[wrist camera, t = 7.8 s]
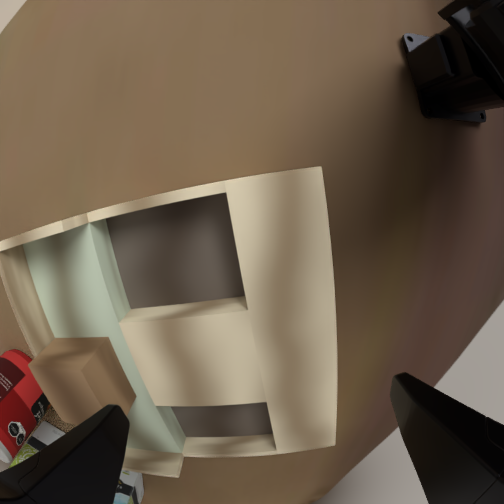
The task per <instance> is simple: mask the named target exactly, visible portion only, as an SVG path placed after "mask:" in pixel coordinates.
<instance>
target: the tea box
mask: <svg viewBox="0 0 504 504" xmlns="http://www.w3.org/2000/svg"><path fill="white" fill-rule="evenodd" d="M64 434H66V433H65V432H63V431H61V430H59V429H58V428H56V427H54V426H53V425H51V424H50V423H48V422H46V421H43V422H42V423H41V424H40V426H39V427H38V428H37V429H36V430H35V432H34V433H33V434H32V436H31V437H30V438H29V439H28V441H27V442H26V444H25V445H24V446H23V448H22V449H21V451H20V452H19V454H18V455H17V457H16V458H15V459H14V461H13V462H12V464H11V465H10V466H9V468H10V467H12V466H14V465H16V464H18V463H20V462H22V461H24V460H26V459H27V458H29V457H31V456H32V455H34V454H35V453H37V452H38V451H41V449H43V448H45V447H46V446H48V445H49V444H51V443H52V442H54V441H55V440H57V439H58V438H60V437H61V436H63V435H64ZM143 494H144V488H143V479H142V473H138V472H132V471H127V470H122V471H121V474H120V478H119V482H118V486H117V490H116V494H115V498H114V503H113V504H140V503H141V500H142V497H143Z"/></svg>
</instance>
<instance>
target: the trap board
mask: <svg viewBox="0 0 504 504" xmlns="http://www.w3.org/2000/svg"><path fill="white" fill-rule="evenodd" d="M0 274H1V278H2V281H3V284H4V287H5V290H6V293H7V296H8V298H9V301H10V304H11V306H12V309H13V312H14V314H15V317H16V319H17V322H18V324H19V326H20V329H21V331H22V333H23V335H24V338H25V340H26V342H27V344H28V346H29V348H30V350H31V352H32V354H33V356H34V358H35V357H36V356H37V355H38V354H39V353H40V352H41V351H42V350H43V349H45V348H46V347H47V346H48V345H49V344H50V343H51V342H52V341H53V340H54V339H55V338H82V337H109V339H110V341H111V344H112V346H113V348H114V351H115V353H116V355H117V357H118V360H119V362H120V364H121V366H122V368H123V370H124V372H125V374H126V376H127V378H128V380H129V382H130V384H131V386H132V388H133V390H134V392H135V394H136V396H137V397H136V399H135V401H134V403H133V405H132V407H131V409H130V411H129V413H128V415H127V418H128V419H129V422H130V428H129V434H128V440H127V446H126V452H125V458H124V463H123V467H122V470H127V471H132V472H138V473H144V474H151V475H158V476H166V477H176V478H179V476H180V472H181V468H182V463H183V459H184V457H247V456H262V455H274V454H283V453H291V452H299V451H305V450H312V449H318V448H323V447H329V446H334V445H335V438H336V416H337V331H336V307H335V289H334V275H333V262H332V250H331V240H330V230H329V221H328V212H327V204H326V196H325V189H324V181H323V174H322V168H321V166H320V167H311V168H303V169H295V170H288V171H281V172H274V173H267V174H261V175H255V176H249V177H243V178H237V179H231V180H226V181H220V182H215V183H210V184H204V185H199V186H194V187H190V188H185V189H180V190H175V191H171V192H166V193H162V194H158V195H153V196H149V197H145V198H141V199H137V200H133V201H129V202H125V203H121V204H117V205H113V206H110V207H106V208H102V209H99V210H95V211H92V212H88V213H85V214H81V215H78V216H74V217H71V218H68V219H65V220H61V221H58V222H55V223H52V224H49V225H46V226H43V227H40V228H37V229H34V230H31V231H28V232H25V233H22V234H19V235H17V236H14V237H11V238H9V239H6V240H3V241H1V242H0ZM76 426H77V425H76Z"/></svg>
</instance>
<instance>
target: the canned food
mask: <svg viewBox="0 0 504 504" xmlns="http://www.w3.org/2000/svg"><path fill="white" fill-rule="evenodd" d="M31 361H32V359H31V358H30V357H29V356H27V355H26V354H25V353H23V352H21V351H19V350H16V349H12V350H9V351H6V352H5V353H4V354H2V355H1V356H0V459H1V460H2V461H4V462H6V463H10V462H11V461H12V459H13V458H14V457H15V455H16V454H17V453H18V451H19V450H20V448H21V447H22V445H23V444H24V442H25V441H26V440H27V438H28V437H29V435H30V434H31V432H32V431H33V430H34V428H35V427H36V425H37V424H38V423H39V421H40V420H41V418H42V417H43V416H44V414H45V413H46V412H47V410H48V409H49V408H50V406H51V403H50V402H49V400H48V399H47V397H46V395H45V394H44V392H43V391H42V389H41V387H40V386H39V384H38V382H37V381H36V379H35V377H34V375H33V374H32V372H31V370H30V368H29V366H28V364H29V363H30V362H31Z"/></svg>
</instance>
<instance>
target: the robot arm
mask: <svg viewBox="0 0 504 504" xmlns="http://www.w3.org/2000/svg"><path fill="white" fill-rule="evenodd" d="M438 14H439V15H440V16H441V17H442V18H443V19H444V20H446V21H447V22H448V23H449V24H450V26H449V27H447V28H446V29H444V30H443V31H441V32H440V33H438V34H434V35H433V36H431V37H427V36H421V35H416V34H410V33H406V34H404V35H403V36H402V41H403V44H404V47H405V50H406V53H407V59H408V62H409V66H410V69H411V73H412V76H413V80H414V84H415V87H416V89H417V93H418V98H419V102H420V107H421V111H422V114H423V115H424V117H426V118H428V119H445V120H458V121H468V122H477V123H483V122H485V121H486V114H485V110H488V109H494V108H500V107H504V0H452V1H451V2H450V3H449V4H447V5H446V6H445V7H444V8H442V9H441V10H440V11H439V12H438ZM407 38H408V39H410V41H411V42H410V41H409V40H408V39H407ZM427 108H428V109H429V110H430V114H429V113H428V111H427ZM480 115H481V117H480ZM390 398H391V402H392V405H393V408H394V412H395V415H396V418H397V422H398V425H399V428H400V432H401V435H402V438H403V441H404V443H405V446H406V448H407V450H408V453H409V455H410V457H411V460H412V462H413V465H414V467H415V470H416V472H417V475H418V477H419V480H420V482H421V485H422V487H423V490H424V492H425V495H426V498H427V500H428V503H429V504H504V425H503V424H501V423H499V422H497V421H494V420H493V419H491V418H489V417H486V416H485V415H483V414H481V413H479V412H477V411H475V410H474V409H472V408H470V407H467V406H466V405H464V404H462V403H461V402H459V401H457V400H455V399H453V398H451V397H449V396H448V395H446V394H444V393H442V392H440V391H439V390H437V389H435V388H433V387H431V386H430V385H428V384H426V383H424V382H422V381H421V380H419V379H417V378H415V377H414V376H412V375H410V374H408V373H406V372H403V373H400V374H397V375H394V376H393V379H392V385H391V392H390ZM129 428H130V422H129V419H128V418H127V416H126V415H125V413H124V411H123V410H122V408H121V407H120V406H119V405H117V404H108V405H106V406H105V407H103V408H102V409H100V410H99V411H98V412H96V413H95V414H93V415H92V416H90V417H89V418H88V419H86V420H85V421H83V422H82V423H80V424H79V425H77V426H76V427H74V428H73V429H72V430H70V431H69V432H67V433H66V434H64V435H63V436H61V437H60V438H58V439H57V440H55V441H54V442H52V443H51V444H49V445H48V446H46V447H45V448H43V449H41V451H38V452H37V453H35V454H34V455H32V456H31V457H29V458H27V459H26V460H24V461H22V462H20V463H18V464H16V465H14V466H12V467H10V468H8V469H6V470H4V471H2V472H0V504H113V503H114V498H115V494H116V490H117V486H118V482H119V478H120V474H121V471H122V467H123V463H124V458H125V452H126V446H127V440H128V434H129Z"/></svg>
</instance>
